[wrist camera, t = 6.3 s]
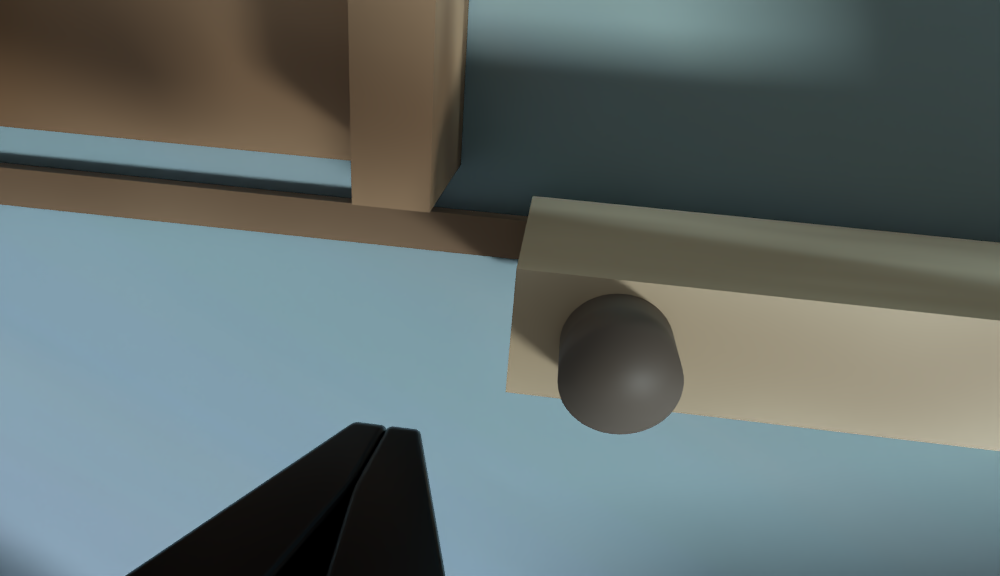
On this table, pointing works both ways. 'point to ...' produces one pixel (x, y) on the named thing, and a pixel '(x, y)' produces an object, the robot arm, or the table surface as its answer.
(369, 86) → the tray
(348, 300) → the table surface
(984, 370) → the gate
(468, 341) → the table surface
